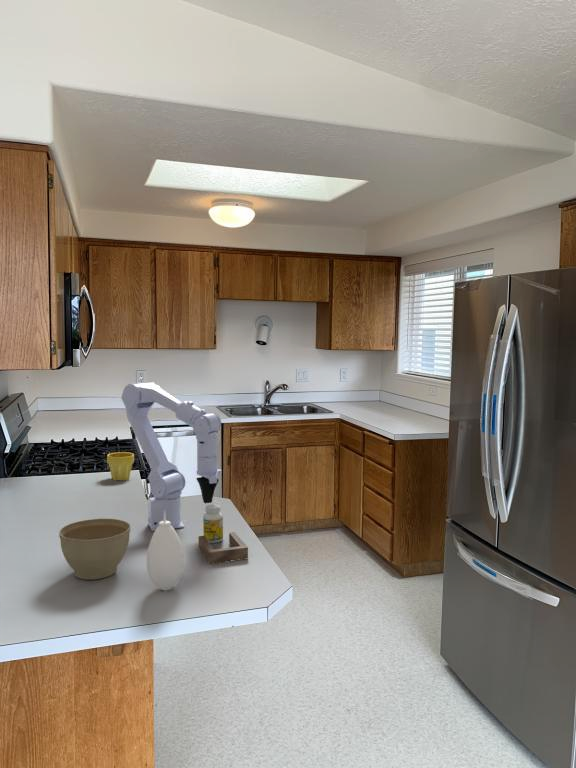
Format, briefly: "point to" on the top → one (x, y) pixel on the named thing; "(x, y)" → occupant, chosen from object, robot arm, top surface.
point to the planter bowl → (94, 546)
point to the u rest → (224, 550)
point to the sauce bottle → (165, 556)
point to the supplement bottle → (213, 524)
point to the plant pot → (120, 465)
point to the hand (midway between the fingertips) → (207, 502)
